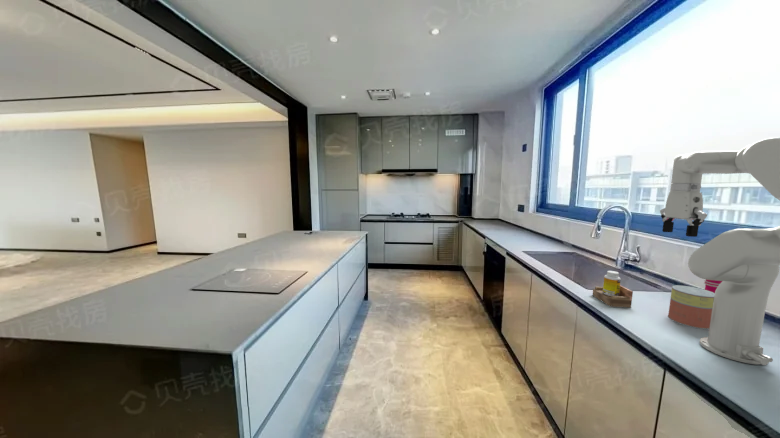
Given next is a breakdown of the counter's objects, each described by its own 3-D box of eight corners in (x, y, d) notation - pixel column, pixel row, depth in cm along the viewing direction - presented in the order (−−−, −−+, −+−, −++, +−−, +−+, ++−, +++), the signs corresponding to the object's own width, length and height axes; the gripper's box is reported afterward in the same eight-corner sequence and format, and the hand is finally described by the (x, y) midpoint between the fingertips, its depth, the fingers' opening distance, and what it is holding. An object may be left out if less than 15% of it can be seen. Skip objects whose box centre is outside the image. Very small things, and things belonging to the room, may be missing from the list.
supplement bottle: (617, 298, 115) (620, 274, 114) (601, 294, 119) (603, 271, 118) (619, 294, 119) (622, 272, 118) (603, 291, 123) (605, 269, 122)
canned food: (722, 331, 95) (727, 298, 94) (683, 327, 98) (688, 295, 96) (694, 316, 106) (698, 286, 105) (660, 313, 108) (663, 284, 107)
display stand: (630, 307, 113) (632, 291, 112) (610, 306, 114) (611, 290, 113) (611, 296, 125) (612, 281, 124) (592, 295, 126) (593, 280, 125)
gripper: (721, 188, 91) (714, 238, 93) (674, 188, 109) (669, 230, 111) (696, 188, 92) (689, 238, 94) (654, 188, 109) (649, 230, 111)
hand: (678, 234), depth 102 cm, fingers open, 9 cm apart
